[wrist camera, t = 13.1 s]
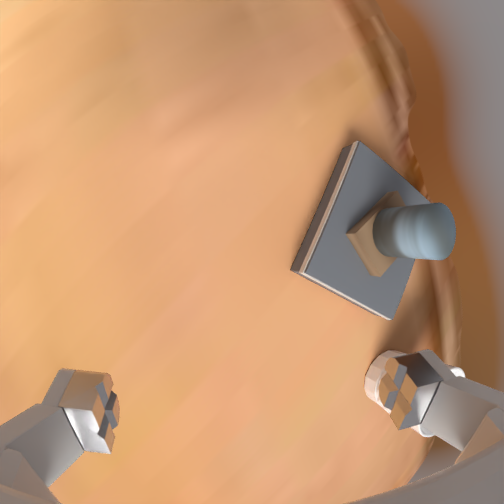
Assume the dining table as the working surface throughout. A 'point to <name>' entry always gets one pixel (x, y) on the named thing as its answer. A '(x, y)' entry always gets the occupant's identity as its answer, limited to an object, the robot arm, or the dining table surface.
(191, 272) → the dining table surface
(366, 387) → the white cup
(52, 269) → the dining table surface
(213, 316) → the dining table surface
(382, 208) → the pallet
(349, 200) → the dock
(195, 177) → the dining table surface
